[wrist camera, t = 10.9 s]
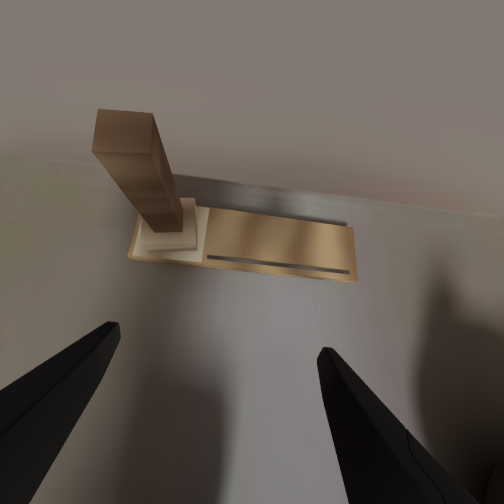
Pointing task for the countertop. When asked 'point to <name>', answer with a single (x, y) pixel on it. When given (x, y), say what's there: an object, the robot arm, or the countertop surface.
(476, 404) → the countertop surface
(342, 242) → the oak plank
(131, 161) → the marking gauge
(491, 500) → the coal bowl
